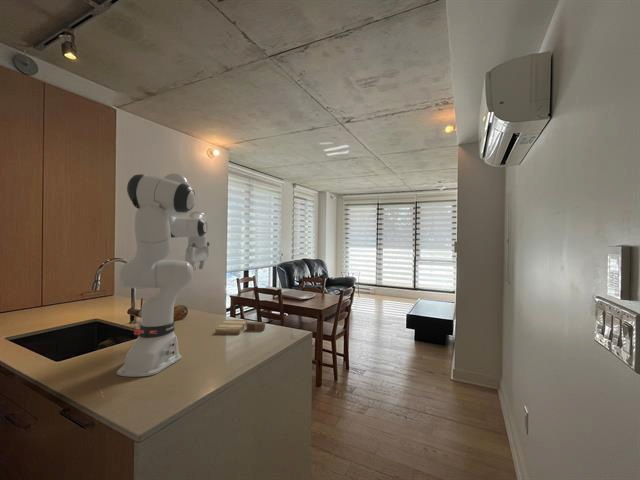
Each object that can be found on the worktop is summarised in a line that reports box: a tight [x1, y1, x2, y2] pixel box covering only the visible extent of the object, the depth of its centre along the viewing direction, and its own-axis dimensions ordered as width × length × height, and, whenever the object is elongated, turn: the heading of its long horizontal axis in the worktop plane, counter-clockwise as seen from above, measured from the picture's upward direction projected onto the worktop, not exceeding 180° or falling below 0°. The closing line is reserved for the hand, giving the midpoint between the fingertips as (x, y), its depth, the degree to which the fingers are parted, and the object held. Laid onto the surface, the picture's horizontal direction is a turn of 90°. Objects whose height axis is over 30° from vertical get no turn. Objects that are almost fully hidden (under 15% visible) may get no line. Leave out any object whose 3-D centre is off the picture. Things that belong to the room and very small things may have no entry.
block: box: [245, 321, 266, 332], centre depth 152 cm, size 4×4×9 cm
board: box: [214, 319, 249, 335], centre depth 153 cm, size 16×12×2 cm
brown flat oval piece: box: [173, 304, 189, 321], centre depth 167 cm, size 15×3×8 cm, turn 143°
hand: (197, 270), depth 151 cm, fingers open, 8 cm apart
